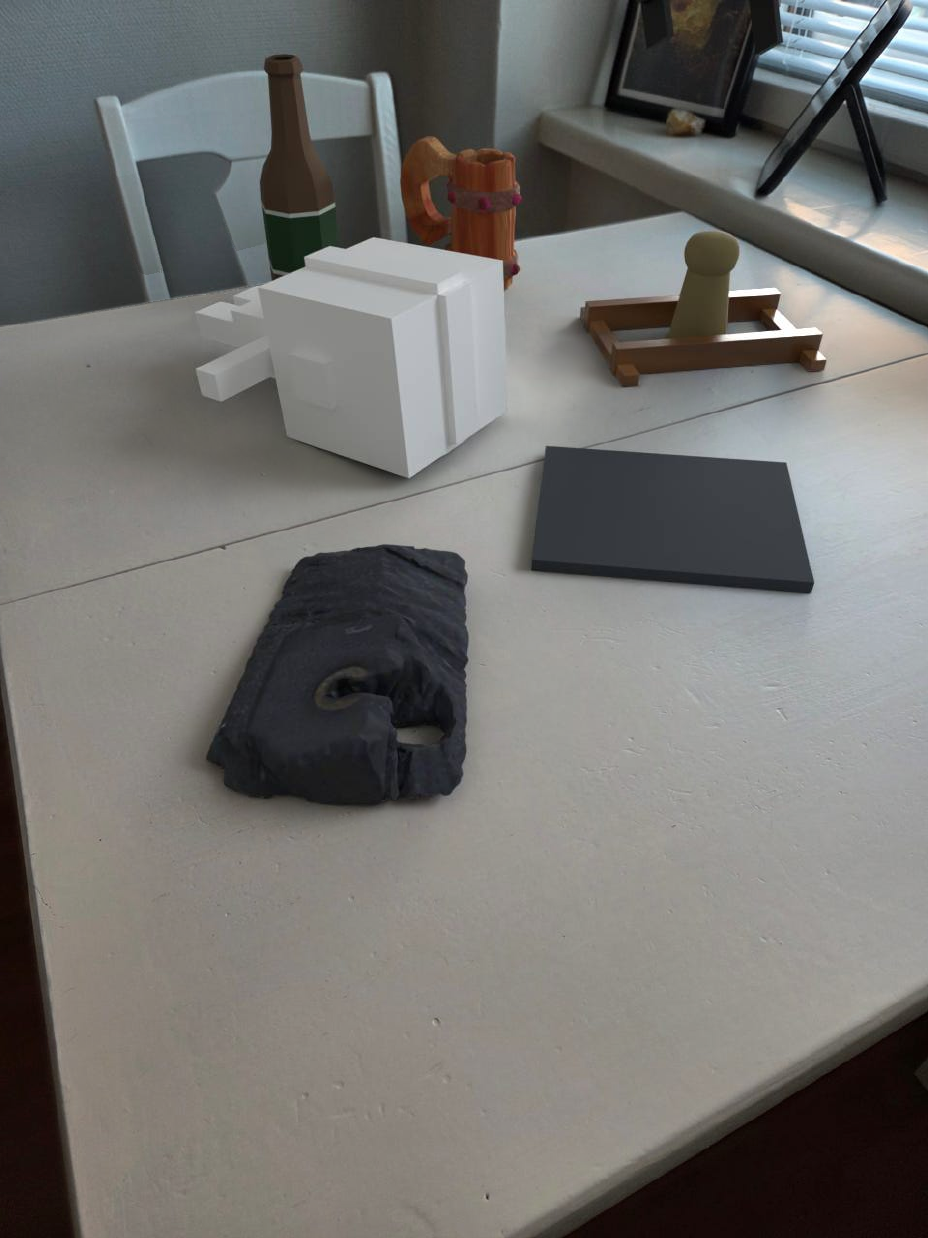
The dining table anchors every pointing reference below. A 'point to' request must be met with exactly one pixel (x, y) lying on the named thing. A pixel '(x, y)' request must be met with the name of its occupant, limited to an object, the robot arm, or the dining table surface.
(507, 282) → the mug
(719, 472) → the mat
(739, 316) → the rack
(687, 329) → the olive pawn
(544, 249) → the dining table surface
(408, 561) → the folded black garment
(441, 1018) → the dining table surface
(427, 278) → the white voxel figure
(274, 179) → the beer bottle
